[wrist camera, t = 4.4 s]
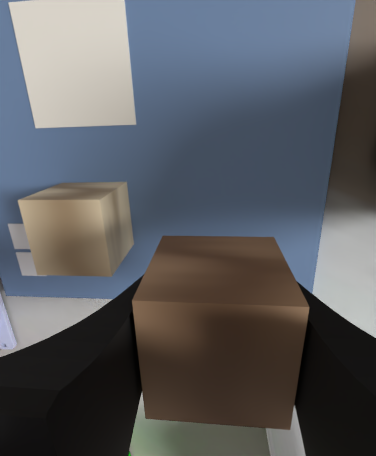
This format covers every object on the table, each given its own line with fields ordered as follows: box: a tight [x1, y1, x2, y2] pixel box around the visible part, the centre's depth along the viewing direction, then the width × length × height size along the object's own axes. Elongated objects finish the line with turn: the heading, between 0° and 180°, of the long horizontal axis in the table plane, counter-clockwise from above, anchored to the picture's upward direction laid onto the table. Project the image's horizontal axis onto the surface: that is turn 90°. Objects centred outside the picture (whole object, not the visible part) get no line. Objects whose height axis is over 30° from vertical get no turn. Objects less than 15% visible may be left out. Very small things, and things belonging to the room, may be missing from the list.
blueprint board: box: [0, 0, 355, 299], centre depth 18 cm, size 24×20×1 cm
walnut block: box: [132, 236, 309, 430], centre depth 10 cm, size 4×4×4 cm
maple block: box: [18, 182, 134, 277], centre depth 17 cm, size 4×4×4 cm
